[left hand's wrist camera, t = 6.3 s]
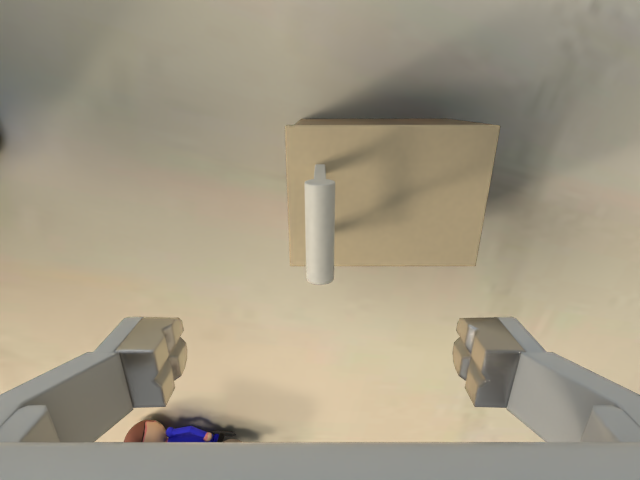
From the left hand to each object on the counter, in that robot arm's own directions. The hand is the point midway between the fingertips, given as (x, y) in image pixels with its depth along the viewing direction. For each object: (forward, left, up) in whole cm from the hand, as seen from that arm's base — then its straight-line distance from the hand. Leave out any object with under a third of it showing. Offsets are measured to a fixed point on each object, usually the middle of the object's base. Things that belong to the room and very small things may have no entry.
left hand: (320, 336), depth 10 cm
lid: (+2, -4, -16) cm, 17 cm away
